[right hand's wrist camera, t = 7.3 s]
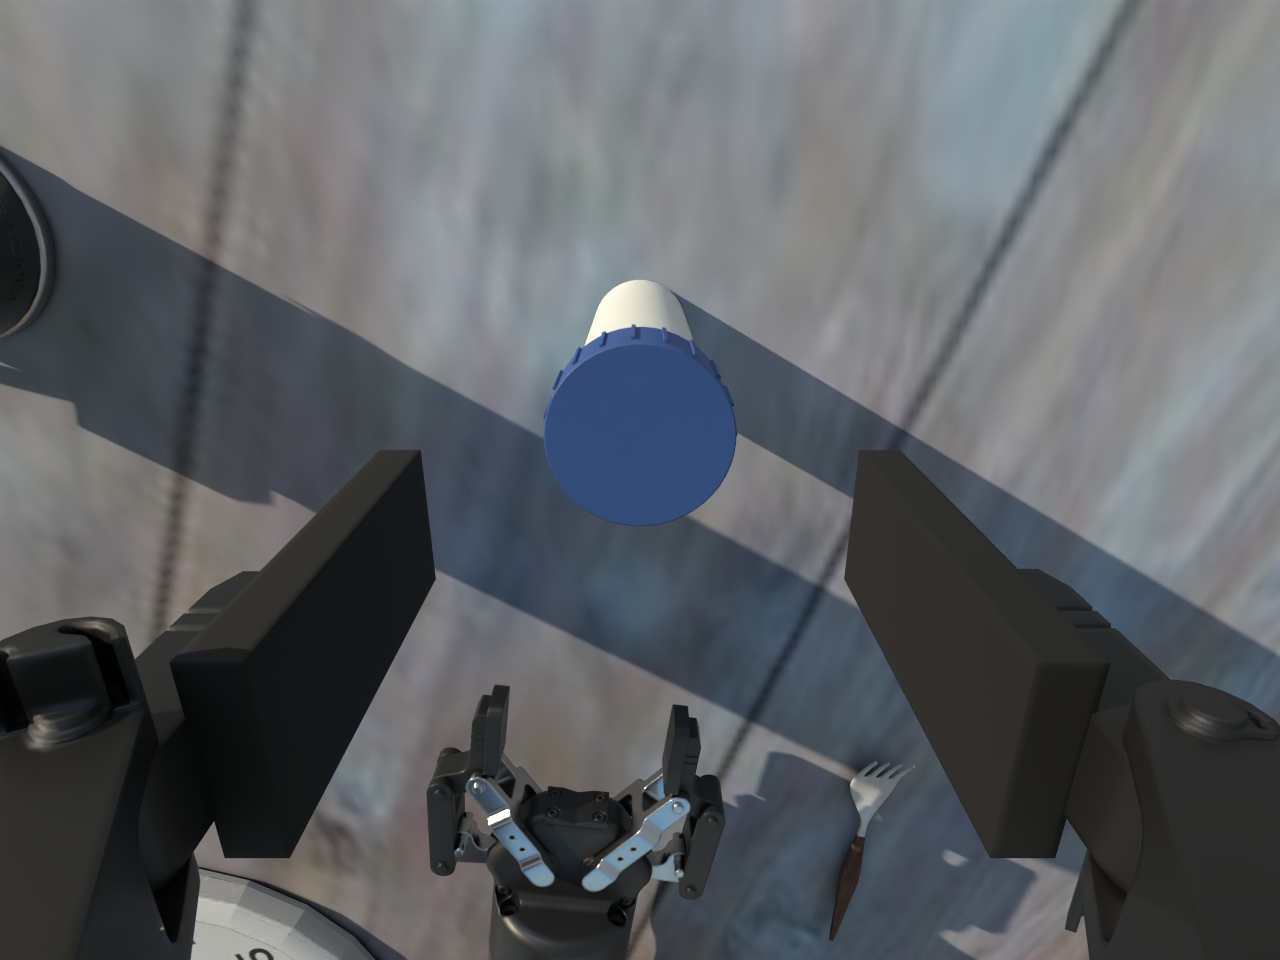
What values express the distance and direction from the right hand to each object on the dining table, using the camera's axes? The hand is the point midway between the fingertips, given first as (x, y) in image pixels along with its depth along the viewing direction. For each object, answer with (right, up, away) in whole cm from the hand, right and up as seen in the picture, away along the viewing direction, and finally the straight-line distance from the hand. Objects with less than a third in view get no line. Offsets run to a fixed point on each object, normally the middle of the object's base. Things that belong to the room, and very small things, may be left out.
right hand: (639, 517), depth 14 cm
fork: (+13, -21, +31) cm, 40 cm away
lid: (0, +2, +5) cm, 5 cm away
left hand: (-2, -10, +20) cm, 22 cm away
